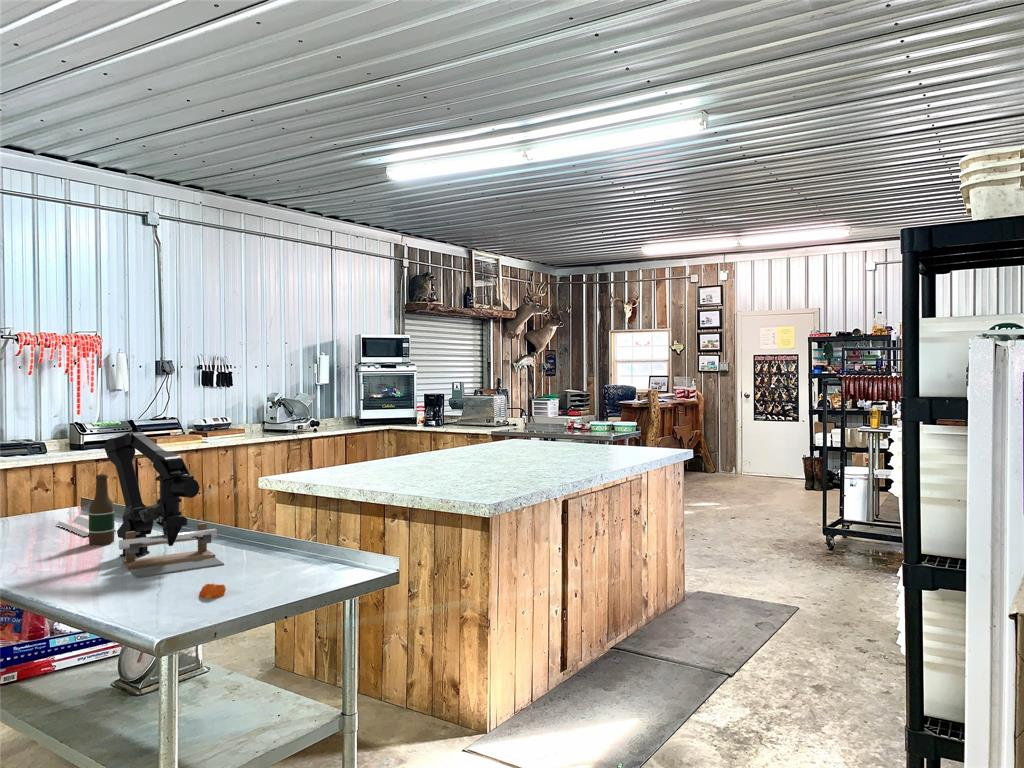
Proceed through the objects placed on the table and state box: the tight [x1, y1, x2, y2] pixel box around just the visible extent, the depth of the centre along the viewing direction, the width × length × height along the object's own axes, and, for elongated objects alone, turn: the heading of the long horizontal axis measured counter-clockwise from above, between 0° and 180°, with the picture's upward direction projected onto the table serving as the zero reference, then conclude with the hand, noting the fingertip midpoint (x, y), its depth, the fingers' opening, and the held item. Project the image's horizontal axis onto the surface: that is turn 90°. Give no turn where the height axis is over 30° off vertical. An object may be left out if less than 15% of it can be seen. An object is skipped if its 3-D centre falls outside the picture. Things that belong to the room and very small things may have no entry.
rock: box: [198, 583, 226, 600], centre depth 189 cm, size 12×12×4 cm
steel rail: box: [118, 528, 218, 550], centre depth 225 cm, size 28×3×3 cm, turn 128°
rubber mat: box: [130, 557, 225, 579], centre depth 216 cm, size 9×24×1 cm, turn 128°
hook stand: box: [121, 522, 216, 571], centre depth 225 cm, size 9×25×10 cm, turn 128°
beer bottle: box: [88, 473, 115, 546], centre depth 249 cm, size 8×8×24 cm
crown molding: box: [55, 515, 117, 537], centre depth 274 cm, size 31×12×4 cm, turn 49°
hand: (169, 545), depth 225 cm, fingers closed on steel rail, 3 cm apart
